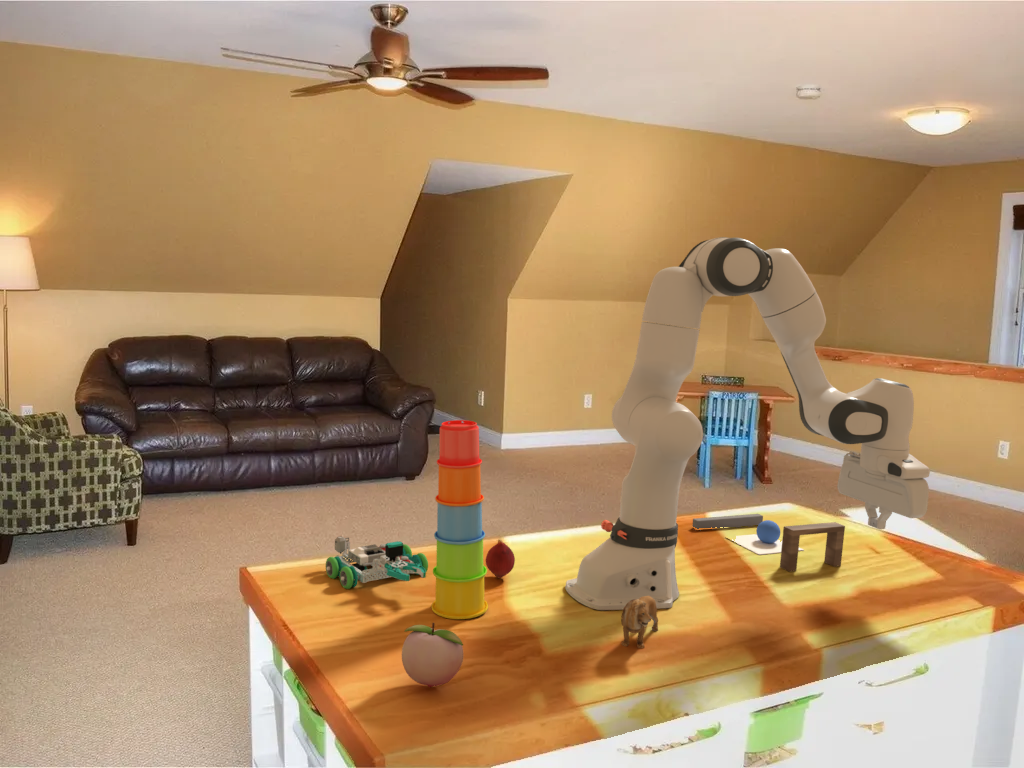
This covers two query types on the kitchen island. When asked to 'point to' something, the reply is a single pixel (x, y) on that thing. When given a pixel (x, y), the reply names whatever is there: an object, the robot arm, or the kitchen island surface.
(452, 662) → the decorative fruit
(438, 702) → the kitchen island surface
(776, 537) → the ball
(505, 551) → the onion
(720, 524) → the wall
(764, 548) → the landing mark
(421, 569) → the robot kit
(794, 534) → the bridge
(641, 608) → the lion figurine
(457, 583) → the stacking cups
